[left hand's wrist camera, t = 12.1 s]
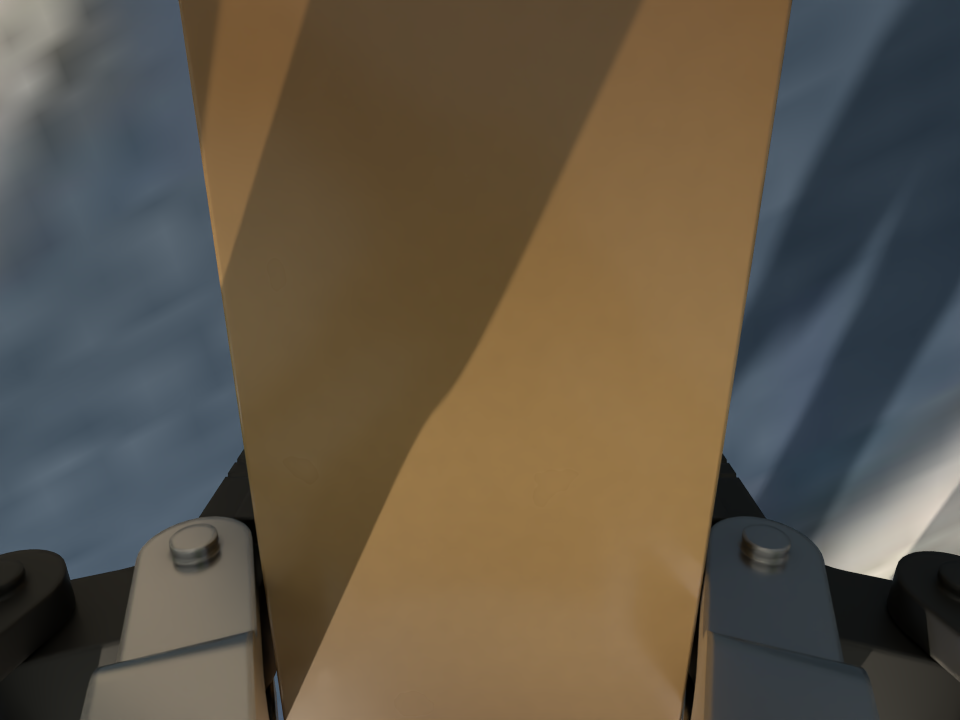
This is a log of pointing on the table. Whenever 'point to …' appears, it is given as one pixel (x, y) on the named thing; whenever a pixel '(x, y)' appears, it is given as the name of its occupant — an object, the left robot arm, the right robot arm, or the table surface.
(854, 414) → the table surface
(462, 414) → the post
